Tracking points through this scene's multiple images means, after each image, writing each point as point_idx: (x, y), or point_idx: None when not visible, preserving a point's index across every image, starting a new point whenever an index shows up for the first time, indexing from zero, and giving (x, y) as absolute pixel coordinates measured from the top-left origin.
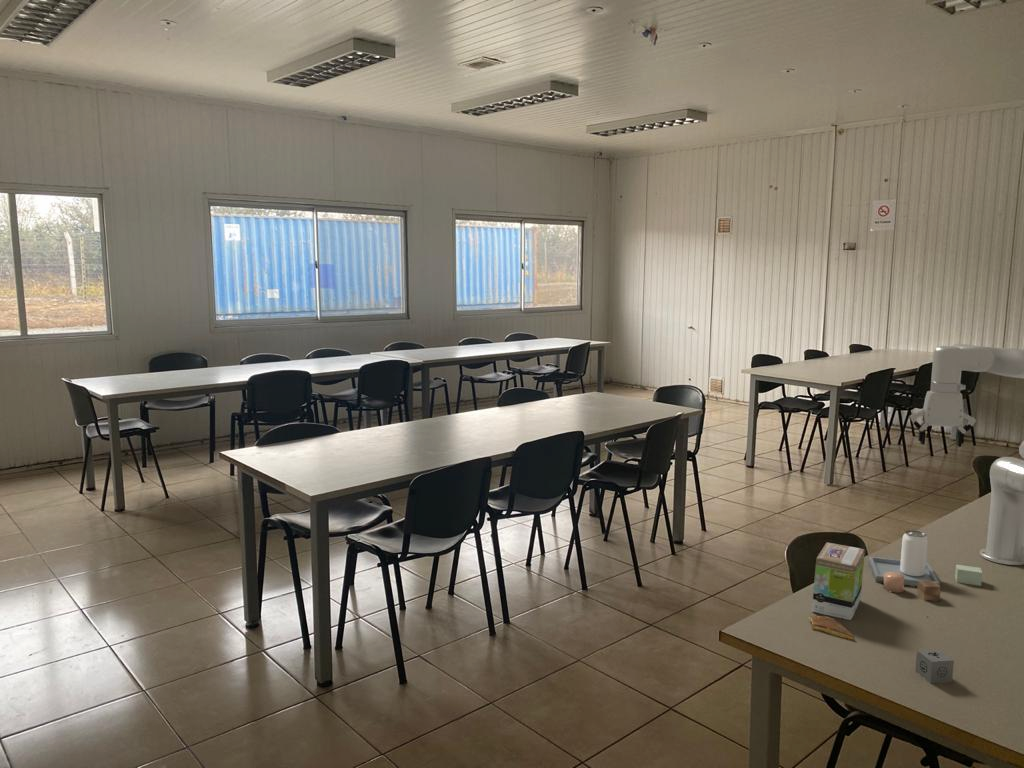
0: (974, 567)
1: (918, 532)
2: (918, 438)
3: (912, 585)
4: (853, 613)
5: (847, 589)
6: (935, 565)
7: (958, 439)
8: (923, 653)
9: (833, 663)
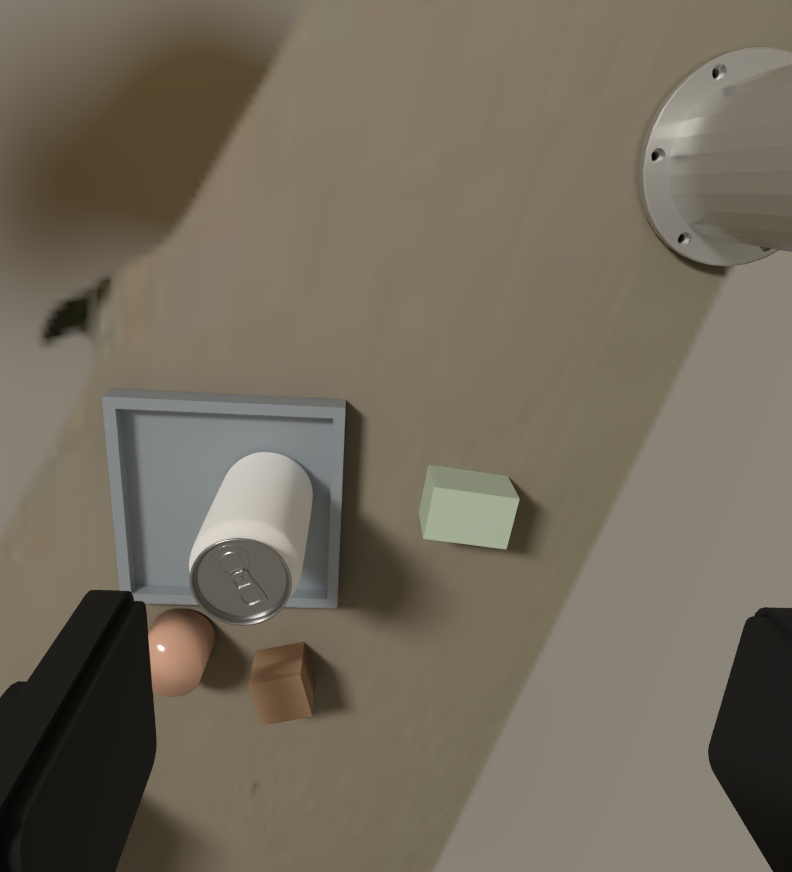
0: (497, 502)
1: (263, 544)
2: (4, 710)
3: None
4: None
5: None
6: (388, 349)
7: (787, 843)
8: None
9: None
